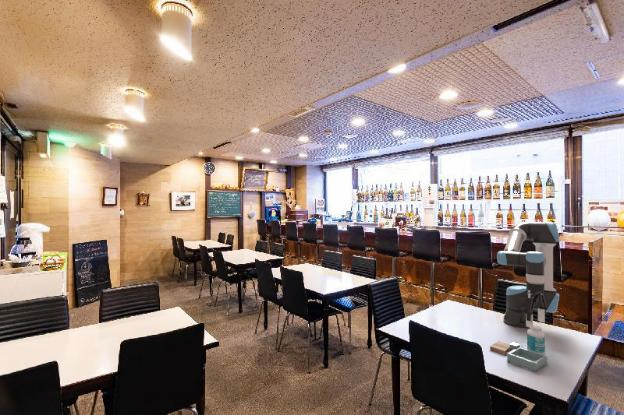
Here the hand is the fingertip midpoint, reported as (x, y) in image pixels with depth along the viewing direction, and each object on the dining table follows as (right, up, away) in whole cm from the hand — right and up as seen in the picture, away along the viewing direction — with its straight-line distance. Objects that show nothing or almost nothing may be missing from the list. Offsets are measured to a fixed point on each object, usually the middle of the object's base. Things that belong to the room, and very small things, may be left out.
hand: (535, 324), depth 158 cm
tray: (-11, -15, -10) cm, 21 cm away
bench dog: (-11, -15, -1) cm, 18 cm away
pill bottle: (0, -15, 0) cm, 15 cm away
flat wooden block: (-15, -15, +4) cm, 22 cm away
